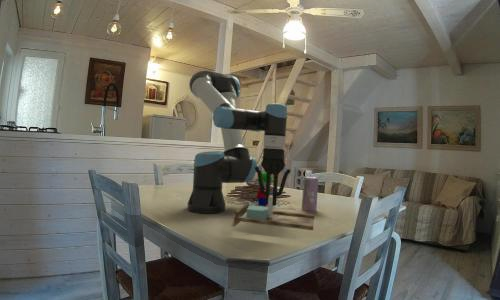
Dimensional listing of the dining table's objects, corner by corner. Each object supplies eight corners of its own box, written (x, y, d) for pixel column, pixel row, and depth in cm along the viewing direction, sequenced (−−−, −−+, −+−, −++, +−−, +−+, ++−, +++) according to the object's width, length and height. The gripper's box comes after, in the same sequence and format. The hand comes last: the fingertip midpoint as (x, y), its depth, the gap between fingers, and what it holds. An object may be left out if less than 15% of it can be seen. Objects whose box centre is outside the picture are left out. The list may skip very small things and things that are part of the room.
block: (246, 217, 103) (246, 209, 103) (250, 213, 110) (251, 205, 110) (266, 219, 101) (266, 211, 101) (269, 215, 108) (269, 207, 108)
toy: (267, 208, 126) (269, 173, 126) (251, 205, 130) (253, 172, 130) (275, 206, 133) (277, 172, 132) (260, 203, 137) (262, 171, 136)
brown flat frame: (234, 224, 99) (234, 212, 99) (246, 213, 115) (246, 203, 115) (312, 234, 93) (313, 221, 93) (314, 221, 109) (314, 210, 108)
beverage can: (315, 212, 124) (317, 176, 124) (317, 215, 119) (319, 178, 118) (301, 211, 125) (303, 175, 125) (302, 214, 119) (304, 177, 119)
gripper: (253, 147, 102) (249, 214, 102) (291, 149, 99) (287, 219, 99) (258, 146, 109) (254, 210, 110) (293, 149, 106) (289, 214, 107)
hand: (270, 214), depth 105 cm, fingers closed
